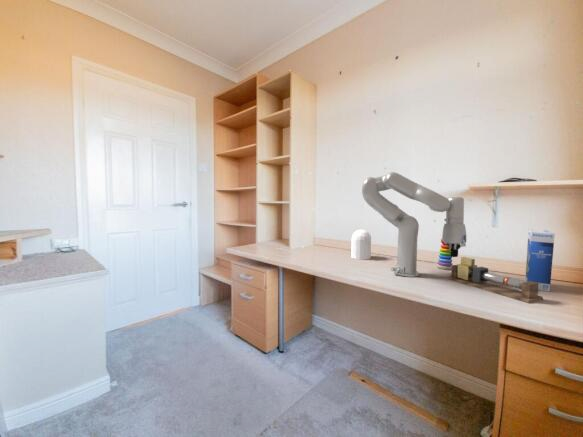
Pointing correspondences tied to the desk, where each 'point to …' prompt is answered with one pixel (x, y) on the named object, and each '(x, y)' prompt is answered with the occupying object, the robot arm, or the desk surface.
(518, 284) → the pipe
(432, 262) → the desk surface
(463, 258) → the sleeve
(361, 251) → the container
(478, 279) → the grey square collar
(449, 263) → the stacking toy
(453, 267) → the stand
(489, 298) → the desk surface
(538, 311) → the desk surface
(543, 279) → the string lights box
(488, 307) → the desk surface
